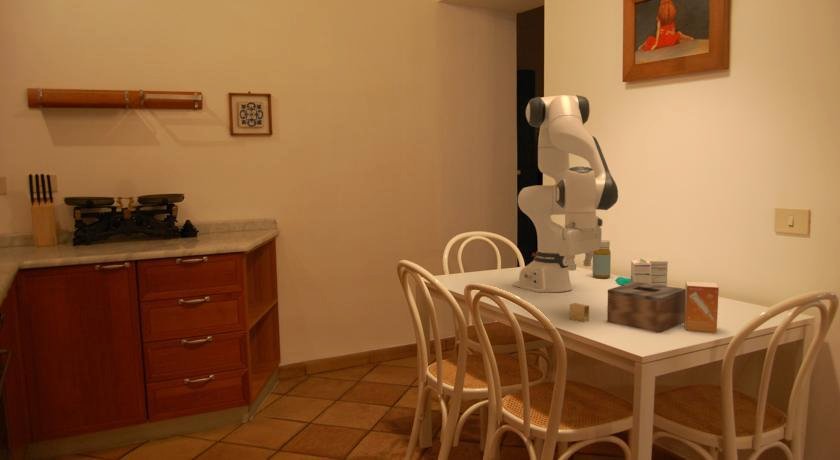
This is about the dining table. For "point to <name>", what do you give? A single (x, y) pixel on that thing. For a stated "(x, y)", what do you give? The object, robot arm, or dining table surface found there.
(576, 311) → the upright wooden block
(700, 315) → the small box
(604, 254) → the bottle
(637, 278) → the syrup box
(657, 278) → the supplement box
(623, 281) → the cloth
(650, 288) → the collection bin
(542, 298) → the dining table surface
